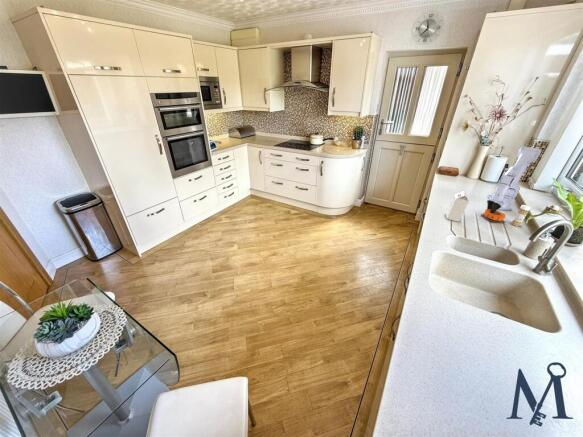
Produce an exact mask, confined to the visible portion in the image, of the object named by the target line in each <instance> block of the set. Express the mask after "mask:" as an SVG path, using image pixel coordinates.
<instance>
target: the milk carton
mask: <svg viewBox="0 0 583 437" xmlns="http://www.w3.org/2000/svg"><path fill="white" fill-rule="evenodd" d="M469 203H470V199H469V197H468V196H467V195H466V192H465V190H464V189H463V190H462V191H461V192H458V193H455V194H454V195H453V198H452V200H451V202H450V204H449V206H448V208H447V211H446V213H445V217H446V220H450V221H453V222H458V223H460V222H461V219H462V217H463V215H464V213H465V211H466V209H467V207H468V205H469Z"/></svg>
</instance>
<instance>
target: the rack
mask: <svg viewBox="0 0 583 437" xmlns="http://www.w3.org/2000/svg"><path fill="white" fill-rule="evenodd" d="M493 214H494V215H497V214H496V213H493ZM480 216H481V217H483V218H484V219H485V220H486V221H488V222H489V223H497V224H499V223H500V224H504V223H505V222H506V220H505V219H504V220H502V221H496V220H492V219H490V218H487V217H486V216H484V214H483V213H481V215H480Z"/></svg>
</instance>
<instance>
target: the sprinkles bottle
mask: <svg viewBox="0 0 583 437" xmlns="http://www.w3.org/2000/svg"><path fill="white" fill-rule="evenodd" d="M531 210H532V207H531V206H529V205H527V204H522V205H521V206H520V207H519V210H518V211H517V212H516V214H515V216H514V218H513V219H512V221H511V223H510V224H511V225H512V226H515V227H520V226H521V224H522V223H523V222H524V220H525V218H526V217H527V215H528V213H529V212H530V211H531Z"/></svg>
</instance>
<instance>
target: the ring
mask: <svg viewBox="0 0 583 437" xmlns="http://www.w3.org/2000/svg"><path fill="white" fill-rule="evenodd" d="M490 211H491V209H487V208H486V209H485V210H484V212H483V213H482V214H484V216H486V217H487V218H490V219H492V220H496V221H502V220H504V221H505V218H506V214H505V213H503V211H502V212H501V211H499V210H496V211H495V212H494V213H496V214H497V215H494V214H493V213H490Z"/></svg>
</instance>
